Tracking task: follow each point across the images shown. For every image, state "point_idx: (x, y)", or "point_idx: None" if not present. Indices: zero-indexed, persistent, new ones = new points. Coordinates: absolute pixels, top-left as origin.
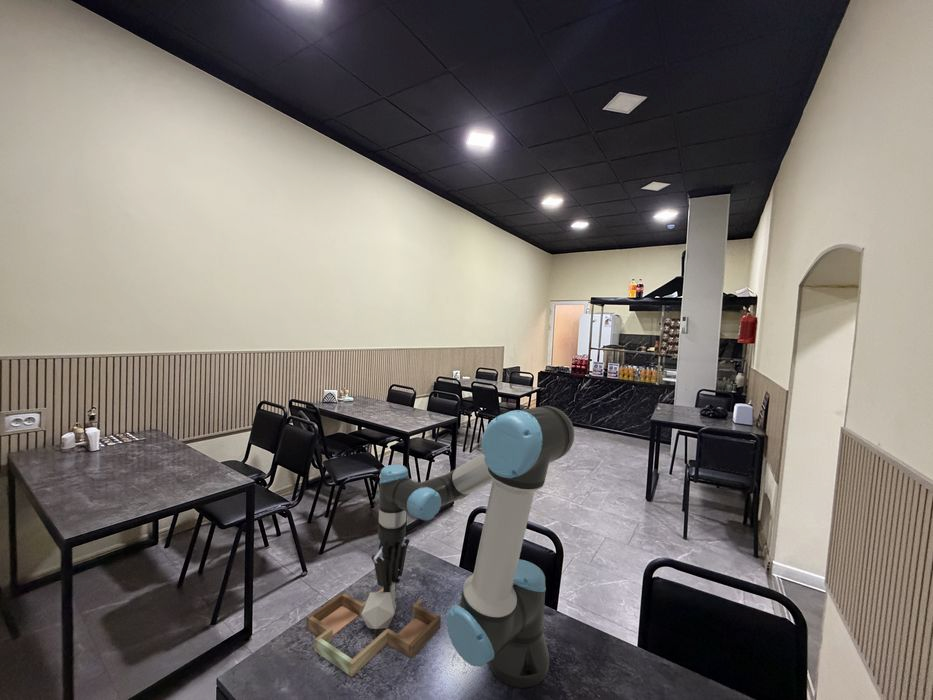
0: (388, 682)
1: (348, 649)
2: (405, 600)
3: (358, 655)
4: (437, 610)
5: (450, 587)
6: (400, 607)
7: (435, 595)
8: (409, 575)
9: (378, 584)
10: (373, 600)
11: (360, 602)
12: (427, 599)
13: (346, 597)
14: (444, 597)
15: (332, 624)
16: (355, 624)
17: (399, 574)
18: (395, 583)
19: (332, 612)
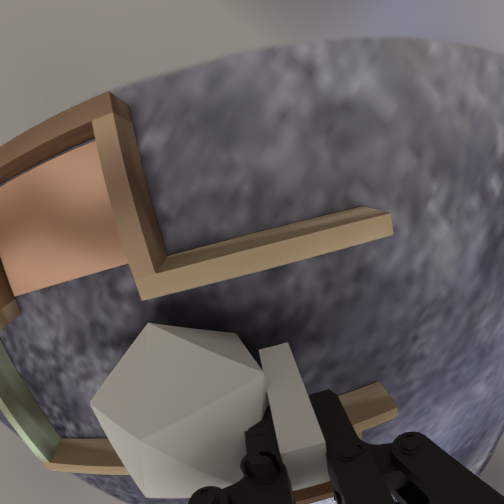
0: (135, 496)
1: (61, 381)
2: (382, 308)
3: (65, 466)
4: (405, 409)
5: (500, 336)
6: (337, 334)
7: (458, 347)
8: (485, 172)
9: (193, 500)
10: (139, 471)
11: (147, 260)
12: (432, 351)
13: (100, 156)
14: (461, 369)
15: (33, 235)
16: (112, 299)
17: (389, 490)
18: (328, 480)
19: (60, 152)
